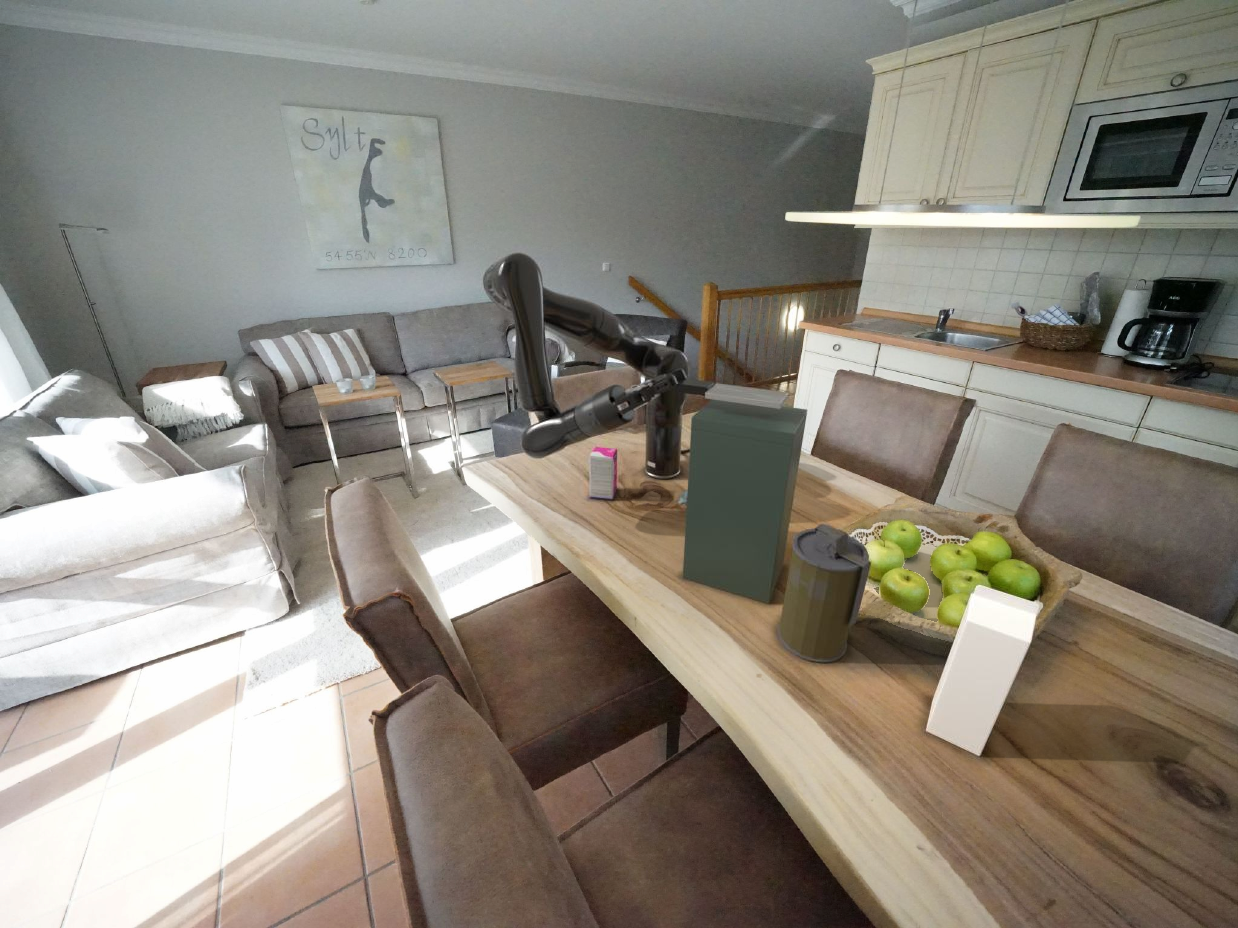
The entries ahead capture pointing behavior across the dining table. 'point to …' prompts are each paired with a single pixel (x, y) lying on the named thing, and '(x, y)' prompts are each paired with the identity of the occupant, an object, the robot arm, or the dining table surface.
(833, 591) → the canister
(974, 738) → the milk
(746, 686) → the dining table surface
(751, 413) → the tall green lidded box
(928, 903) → the dining table surface
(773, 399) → the long-handled flat paddle
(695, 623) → the dining table surface
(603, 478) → the supplement box
